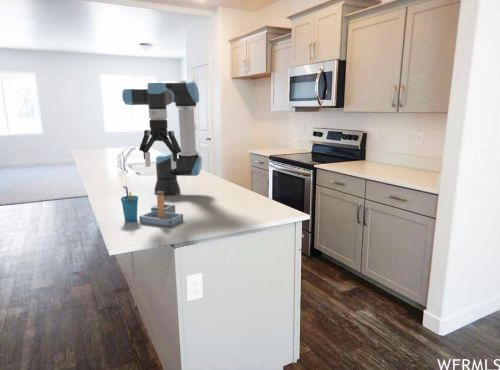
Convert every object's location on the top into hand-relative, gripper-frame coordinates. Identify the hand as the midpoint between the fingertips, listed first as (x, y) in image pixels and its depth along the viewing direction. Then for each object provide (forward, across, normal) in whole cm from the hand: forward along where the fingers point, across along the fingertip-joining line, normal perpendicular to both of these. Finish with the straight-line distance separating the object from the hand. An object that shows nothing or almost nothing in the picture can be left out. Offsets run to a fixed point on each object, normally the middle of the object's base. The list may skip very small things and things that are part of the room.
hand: (160, 167), depth 161 cm
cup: (+24, -12, -8) cm, 28 cm away
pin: (+23, +2, -5) cm, 23 cm away
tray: (+24, +2, -5) cm, 24 cm away
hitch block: (+24, -4, +5) cm, 25 cm away
